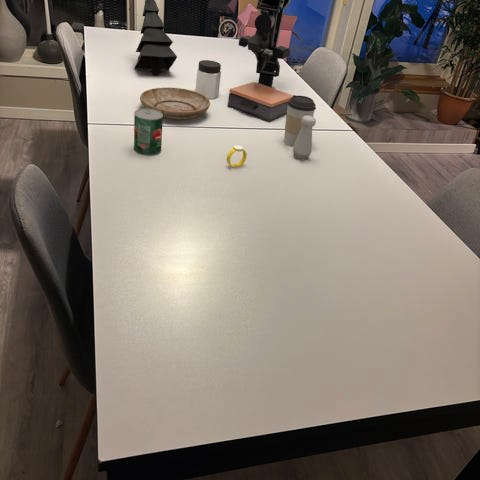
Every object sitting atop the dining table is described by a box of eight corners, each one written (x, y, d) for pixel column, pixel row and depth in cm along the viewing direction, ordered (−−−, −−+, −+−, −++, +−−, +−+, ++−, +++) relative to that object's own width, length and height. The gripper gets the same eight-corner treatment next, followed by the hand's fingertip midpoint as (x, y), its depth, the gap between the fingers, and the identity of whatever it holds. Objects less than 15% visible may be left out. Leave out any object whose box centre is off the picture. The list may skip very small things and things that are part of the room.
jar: (222, 98, 191) (226, 66, 184) (205, 100, 186) (208, 67, 179) (208, 90, 196) (211, 58, 189) (191, 92, 191) (193, 60, 184)
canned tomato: (163, 156, 144) (165, 119, 138) (135, 156, 141) (136, 119, 135) (158, 144, 150) (160, 108, 144) (132, 144, 148) (132, 108, 141)
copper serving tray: (253, 84, 192) (254, 81, 192) (293, 98, 185) (294, 95, 184) (229, 92, 181) (229, 88, 180) (271, 107, 173) (271, 104, 173)
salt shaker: (290, 152, 158) (298, 112, 150) (307, 153, 159) (316, 114, 151) (293, 160, 153) (301, 119, 146) (311, 162, 154) (320, 121, 147)
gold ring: (240, 163, 147) (244, 144, 144) (246, 167, 146) (250, 148, 143) (223, 165, 144) (227, 145, 141) (229, 169, 142) (232, 149, 139)
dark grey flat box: (251, 97, 195) (253, 85, 192) (291, 112, 188) (293, 99, 185) (224, 107, 183) (226, 94, 180) (266, 123, 175) (268, 109, 172)
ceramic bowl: (171, 95, 186) (172, 82, 183) (222, 115, 176) (223, 101, 173) (125, 109, 169) (125, 94, 166) (178, 131, 160) (179, 116, 157)
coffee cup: (310, 141, 167) (320, 97, 159) (304, 151, 160) (314, 105, 151) (284, 134, 169) (292, 90, 160) (277, 144, 162) (285, 98, 153)
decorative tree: (170, 79, 211) (162, -5, 210) (178, 67, 197) (170, -23, 196) (134, 78, 205) (126, -8, 205) (141, 66, 192) (132, -26, 191)
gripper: (232, 22, 173) (227, 68, 182) (278, 36, 165) (270, 83, 175) (250, 18, 181) (244, 62, 190) (294, 31, 173) (286, 76, 183)
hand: (260, 71), depth 184 cm, fingers closed
